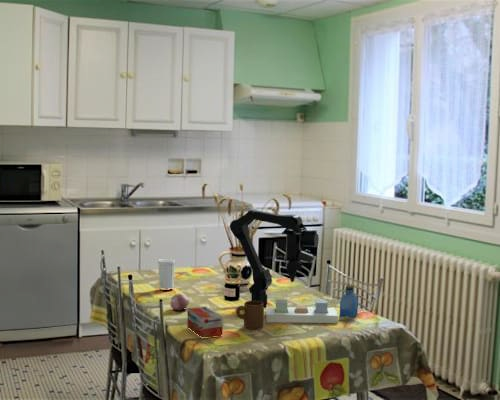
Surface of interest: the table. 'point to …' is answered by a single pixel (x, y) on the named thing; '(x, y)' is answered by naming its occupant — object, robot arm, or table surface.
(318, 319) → the panel
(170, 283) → the cup
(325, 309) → the button slate
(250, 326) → the mug
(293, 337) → the table surface
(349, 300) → the perfume bottle
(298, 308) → the button terracotta
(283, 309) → the button sage
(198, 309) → the medicine box
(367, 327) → the table surface
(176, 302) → the onion
